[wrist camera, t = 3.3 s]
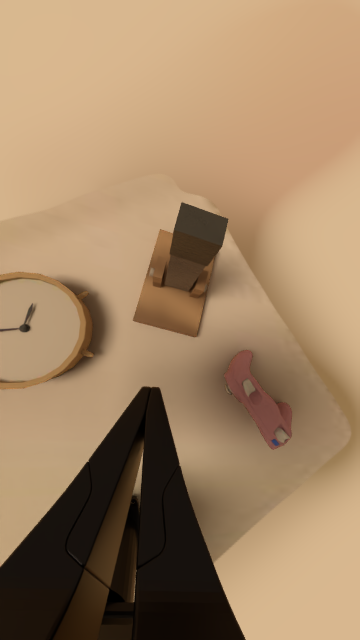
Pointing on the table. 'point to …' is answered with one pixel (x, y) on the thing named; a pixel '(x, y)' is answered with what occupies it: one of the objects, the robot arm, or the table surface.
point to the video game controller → (258, 401)
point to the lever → (193, 245)
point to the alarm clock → (40, 329)
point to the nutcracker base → (170, 294)
